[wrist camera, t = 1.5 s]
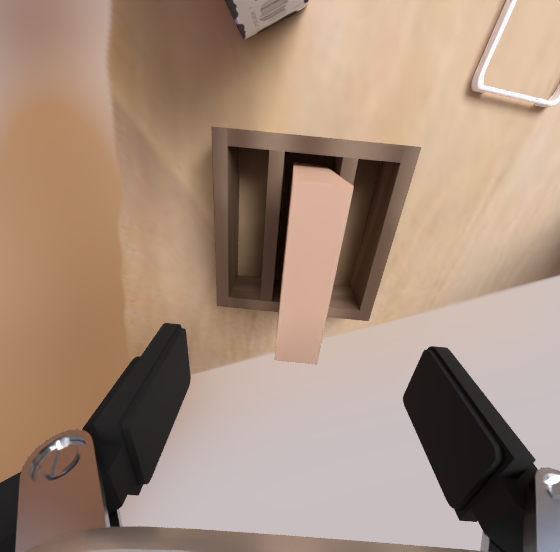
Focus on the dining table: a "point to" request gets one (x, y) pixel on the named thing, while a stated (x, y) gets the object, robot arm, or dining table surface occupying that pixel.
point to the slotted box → (267, 289)
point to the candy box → (261, 13)
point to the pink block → (310, 259)
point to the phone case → (489, 50)
